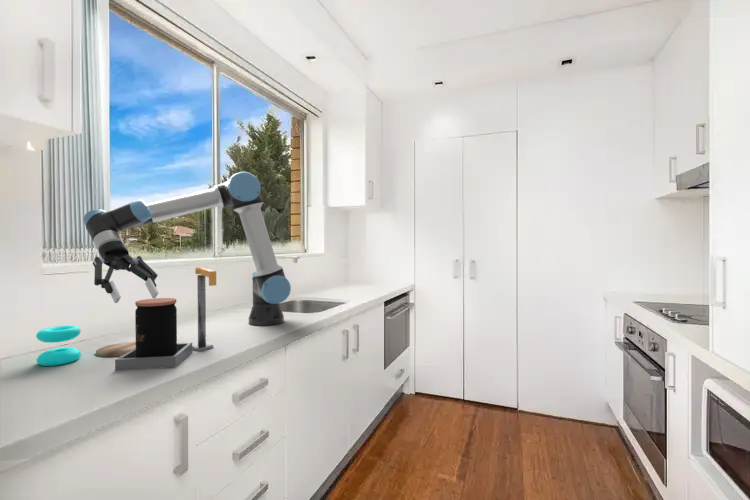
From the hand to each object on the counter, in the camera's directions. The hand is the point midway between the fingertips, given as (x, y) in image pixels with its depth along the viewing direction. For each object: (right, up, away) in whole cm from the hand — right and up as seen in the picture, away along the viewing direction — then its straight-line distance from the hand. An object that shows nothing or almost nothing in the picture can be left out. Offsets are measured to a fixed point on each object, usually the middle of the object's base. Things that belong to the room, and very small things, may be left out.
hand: (137, 297), depth 117 cm
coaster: (-8, -18, +6) cm, 21 cm away
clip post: (+16, -18, +8) cm, 26 cm away
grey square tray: (+9, -18, -5) cm, 21 cm away
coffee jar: (+9, -18, -5) cm, 21 cm away
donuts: (-19, -18, -6) cm, 27 cm away
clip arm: (+21, +5, 0) cm, 22 cm away
